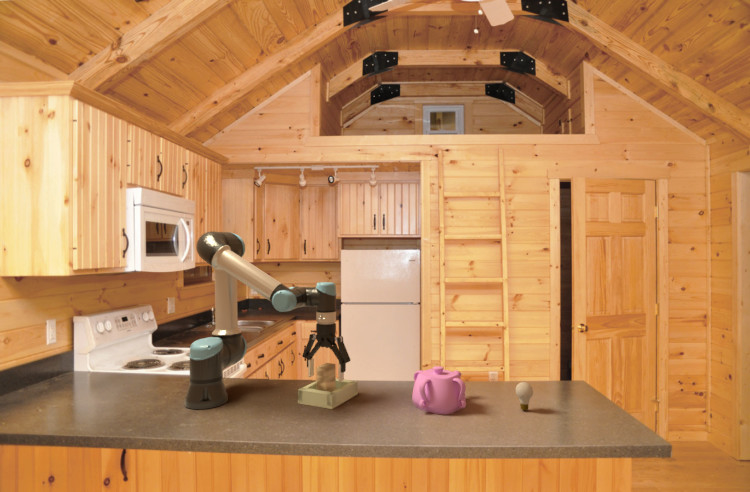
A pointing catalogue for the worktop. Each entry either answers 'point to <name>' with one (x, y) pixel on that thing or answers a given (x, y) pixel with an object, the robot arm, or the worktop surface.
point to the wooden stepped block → (326, 377)
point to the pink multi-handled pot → (439, 391)
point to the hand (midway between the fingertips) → (325, 378)
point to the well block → (328, 394)
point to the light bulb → (524, 394)
